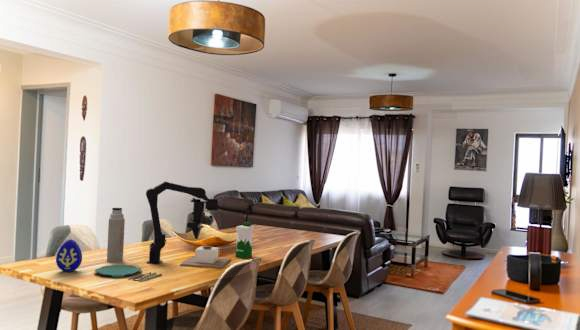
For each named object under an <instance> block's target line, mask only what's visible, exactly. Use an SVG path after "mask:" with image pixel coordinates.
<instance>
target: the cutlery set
mask: <svg viewBox="0 0 580 330" xmlns="http://www.w3.org/2000/svg"><path fill="white" fill-rule="evenodd" d="M139 272H140V274H139ZM142 272H143V271H142V268H141V267H139V266H136V265H135V266H134V265H127V264H111V265H105V266H102V267H99V268H98V267H97V268H95V269H94V275H96V274H98V275H99V276H100V275H101V276H106V277H113V278H116V279H117V278H123V277H127V276H128V277H129V276H132V277H129V278H128V279H127V280H133V281H135V282H136V281H137V282H138V283H139V282H140V283H143V282H146V281H150V279H152V280H153V279H155V278H158V277H162V275H163V273H159V274H157V272H153V273H152V272H148V273H147V272H146V273H143V274H141V273H142ZM136 274H139V275H136ZM133 275H136V276H133Z"/></svg>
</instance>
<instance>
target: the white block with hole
mask: <svg viewBox="0 0 580 330" xmlns="http://www.w3.org/2000/svg"><path fill="white" fill-rule="evenodd" d="M203 246H204V245H201V246H199V247H197V248H196V249H195V250H194V251H195V252H194V253H195V254H194V256H195V262H199V263H214V262H216V261H217V260H218V257H219V247H218V246H217V247H214V246H212V247H211V249H204V248H203Z"/></svg>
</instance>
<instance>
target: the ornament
mask: <svg viewBox="0 0 580 330" xmlns="http://www.w3.org/2000/svg"><path fill="white" fill-rule="evenodd" d="M82 260H83V253H82V250H81V248H80V245H79V244H78V243H77V241H76V240H73V239H68V240H66V241H64V242H63V243H62V245H61V246H60V247H59V249H58V251H57V253H56V256H55V264H56V266H57V267H58V269H59V270H60V271H62V272H67V273H70V272H74V271H75V270H77V269H79V267H80V266H81V264H82Z"/></svg>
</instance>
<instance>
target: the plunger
mask: <svg viewBox="0 0 580 330" xmlns="http://www.w3.org/2000/svg"><path fill="white" fill-rule="evenodd" d="M202 246H203V248H204V249H211V247H213V246H211V245H202Z"/></svg>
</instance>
